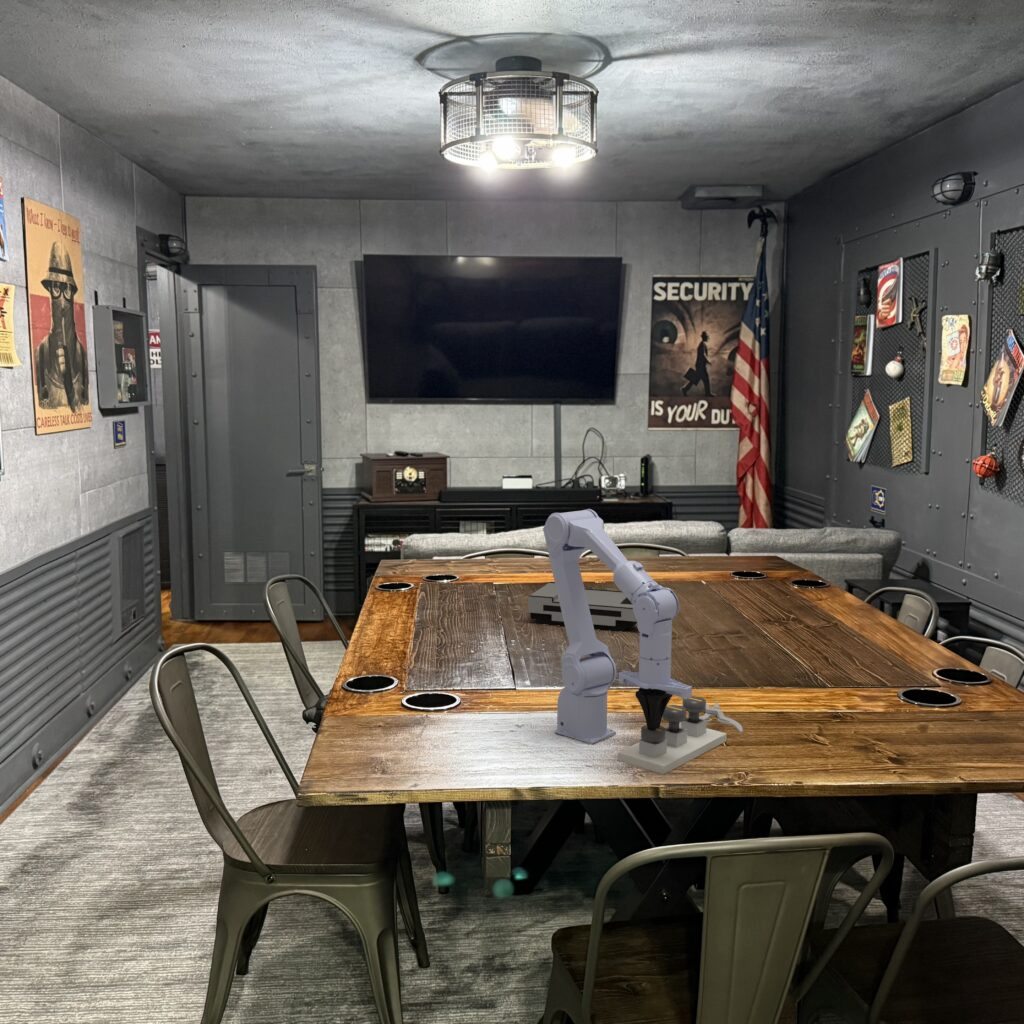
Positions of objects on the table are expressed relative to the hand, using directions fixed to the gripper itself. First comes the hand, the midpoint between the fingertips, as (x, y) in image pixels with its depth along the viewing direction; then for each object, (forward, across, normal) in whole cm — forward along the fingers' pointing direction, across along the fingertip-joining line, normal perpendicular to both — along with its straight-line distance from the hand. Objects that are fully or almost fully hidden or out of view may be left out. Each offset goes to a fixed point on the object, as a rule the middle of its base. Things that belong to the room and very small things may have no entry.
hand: (653, 728), depth 189 cm
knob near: (+4, 0, 0) cm, 4 cm away
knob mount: (+6, 0, +7) cm, 9 cm away
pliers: (+7, -3, +27) cm, 28 cm away
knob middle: (+2, 0, +7) cm, 7 cm away
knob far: (+2, 0, +14) cm, 14 cm away
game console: (+7, -71, +77) cm, 105 cm away
